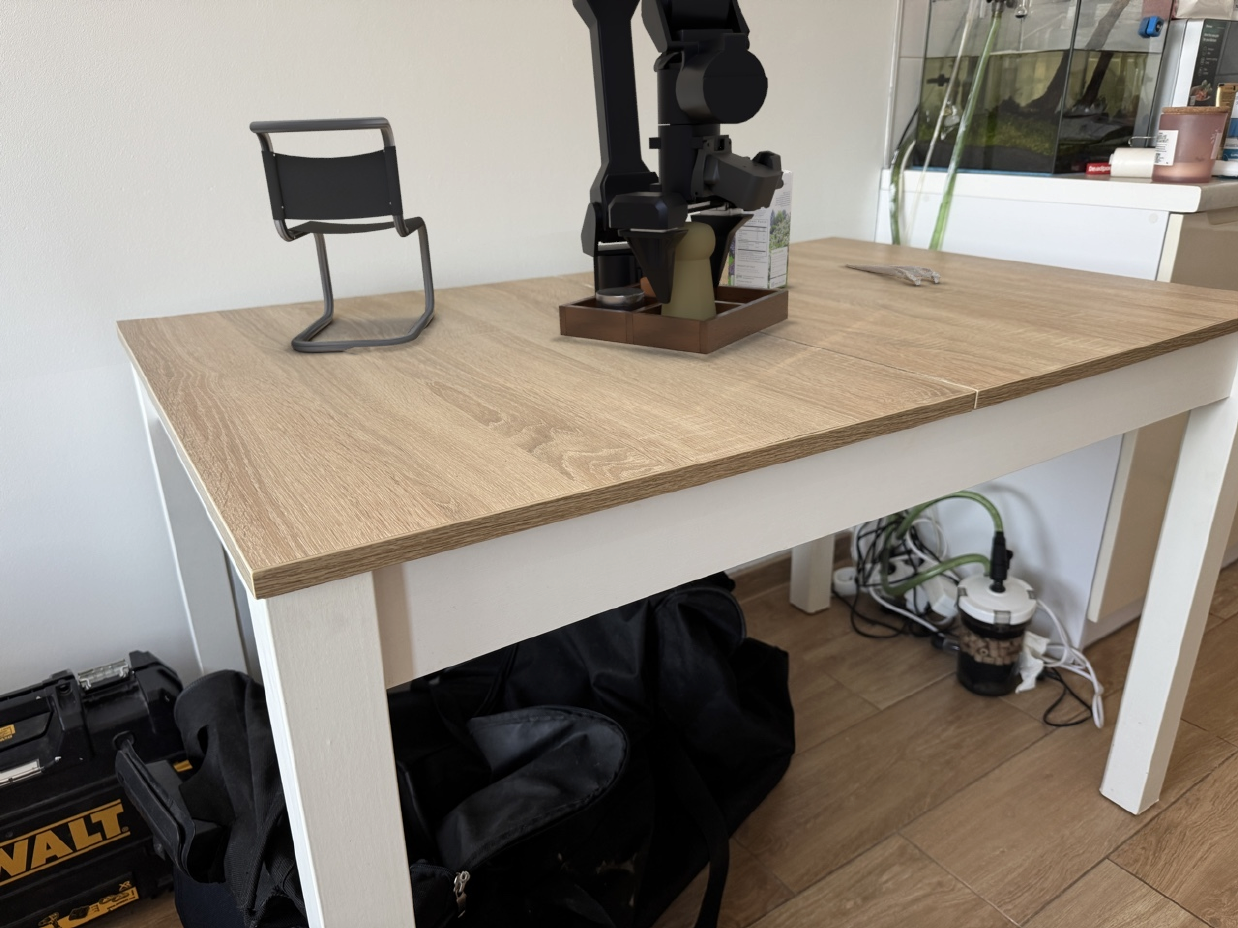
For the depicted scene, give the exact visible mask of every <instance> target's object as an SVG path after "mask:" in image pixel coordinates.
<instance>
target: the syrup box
mask: <svg viewBox="0 0 1238 928" xmlns="http://www.w3.org/2000/svg"><path fill="white" fill-rule="evenodd" d="M782 171H783V172H784V173H783V176H782V180H783V181H784V185H783V187H782V188H781V189H776V190H775V192H774V195H773V198H772V201H771V204H770V207H769V208H764V207H761V209H759V210H756V211H750V212H745V211H743V209H742V213H745V214H754V216H753V218H752V219H751V220H748V221H747V222H746V223H745V224H744V225H743V226H742V227H741V228H740V229H738V230H737V232H736V233H735V236H734V239H733V241H732V244H731V247H730V250H729V253H728V272H727V275H728V276H727V285H733V286H745V287H757V288H769V289H782V288H785V287H787V286H788V281H789V280H788V278H789V277H788V276H789V261H790V259H789V258H790V257H789V256H790V241H791V239H790V238H791V219H792V216H791V215H792V199H793V179H794V177H793V176H794V172H793V171H792V170H787V169H782Z"/></svg>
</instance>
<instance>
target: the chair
mask: <svg viewBox="0 0 1238 928" xmlns="http://www.w3.org/2000/svg"><path fill="white" fill-rule="evenodd" d="M248 129H249V131H251V133H253V134H255V136H256V137H257V139H258V141H259V144H260V149H261V150H260V153H261V158H262V164H263V169H264V175H265V179H266V180H265V181H266V185H267V186H266V187H267V192H268V199H269V204H270V210H271V216H272V220H273V224H274V227H275V230H276V232H277V234H278V236H279V237H280V238H281V239H282V240H283V241H284V242H286V243H290V242H291V243H292V242H293V241H296V240H298V239H300V238H302V237H305V236H307V235H309V234H310V235H311V234H313V239H314V242H315V248H316V255H317V261H318V268H319V275H320V281H321V287H322V295H323V303H324V304H323V305H324V306H323V307H324V308H323V314H322V315H321V316H320V317H319V318H317V319H316V320H315V321H314V322H312V323H311V324H310V325H309V326H308V327H306V328H305V329H303V330H302V331H300V333H298V334H297V335H295V336H294V337H293V338H292V340H291V342H290V345H291V347H292V348H293V350H295V351H297V352H303V353H326V352H329V353H330V352H344V351H347V350H351V349H355V348H374V347H375V348H376V347H389V346H390V347H391V346H397V345H403V344H406V343H410V342H412V341H414V340H416V339H418V337H419V335H420V334H421V332H422V331H423V330H424V329H425V328H427V326H428V324H429V323H430V322H431V320H432V319H433V317H434V315H435V307H436V306H435V305H436V304H435V303H436V302H435V300H436V299H435V288H434V280H433V270H432V262H431V261H432V260H431V250H430V242H429V234H428V228H427V225H426V222H425V220H424V219H423V218H422V216H414V217H409V218H405V217H404V207H403V198H402V191H401V181H400V171H399V164H398V155H397V147H396V143H395V137H394V136H395V135H394V132H393V127H392V126H391V123H390V121H389V119H387V118H386V117H384V116H365V117H337V118H334V117H333V118H312V119H311V118H310V119H309V118H307V119H283V120H256V121H251V122H250V123H249V126H248ZM361 130H362V131H363V130H364V131H365V130H380V134H381V137H382V142H383V149H380V150H375V151H371V152H367V153H362V154H354V155H346V156H336V157H335V156H333V157H311V156H310V157H309V156H300V155H289V154H285V153H280V152H275V151H274V147H273V143H272V139H271V136H270V134H279V133H281V134H283V133H284V134H285V133H307V132H308V133H309V132H311V133H312V132H332V131H333V132H334V131H336V132H337V131H361ZM390 216H391V217H392V220H391V221H385V222H371V223H370V222H369V223H339V222H328V221H342V220H360V219H370V218H371V219H373V218H380V217H390ZM286 220H293V221H306V222H303V223H300V224H297V225H295V226H292V227H288V225H287V223H286ZM326 221H327V222H326ZM389 229H390V230H391V229H395V230H396V231H395V232H396V233H397V234H398V236H399V237H400V238H408V237H409V236H410V235H411V234H413V233H414V232H417V236H418V243H419V252H420V260H421V269H422V270H421V271H422V278H423V290H424V300H425V301H424V302H425V303H424V304H425V306H424V312H423V313H422V314H421V316H420V317H419V318H418V319H417V321H416V322H415V323H414V325H413V326H412V327H411V328H410V329H409V331H408V332H407V333H406V334H404V335H399V336H395V337H388V338H371V339H368V338H367V339H348V340H347V339H346V340H345V339H344V340H322V341H321V340H320V341H309V340H310V339H311V338H313V337H314V336H315V335H316V334H318V333H319V332H320V331H321V330H323V329H324V328H325V327H326V326H328V325H329V324H330V323H331V322H332V320H333V318H334V312H335V301H334V300H335V299H334V292H333V285H332V279H331V278H332V277H331V272H330V266H329V259H328V253H327V245H326V240H325V235H351V234H362V233H363V234H364V233H372V232H378V231H379V232H380V231H384V230H385V231H386V230H389Z"/></svg>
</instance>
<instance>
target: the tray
mask: <svg viewBox="0 0 1238 928" xmlns="http://www.w3.org/2000/svg"><path fill="white" fill-rule="evenodd" d="M625 287H629V288H639V289H641V282H638V283H635V284H631V285H628V286H625ZM713 292H714V300H715V308H716V316H713V317H710V318H708V319H705V320H701V319H692V318H683V317H674V316H665V315H661V311H662V303H659V302H658V300H657V298H656V296H655V295H650V294H645V307H643V308H640V309H637V310H634V311H631V312H628V311H619V310H610V309H601V308H596V295H595V294H593V295H590V296H587V297H584V298H581V299H577V300H574V301H570V302H567V303H563V304H560V305H558V315H559V333H560V334H559V335H560V336H564V337H571V338H572V337H573V338H579V339H580V338H581V339H586V340H587V339H588V340H595V341H601V342H602V341H603V342H609V343H617V344H625V345H632V346H639V347H647V348H654V349H655V348H656V349H661V350H671V351H678V352H683V353H684V352H686V353H693V354H701V355H709V354H711V353H714V352H716V351H718V350H720V349H723V348H726V347H727V346H729V345H731V344H734V343H737V342H739V341H741V340H744V339H745V338H747V337H750V336H753V335H754V334H756V333H758V332H761V331H763V330H765V329H768V328H770V327H772V326H775V325H776V324H779V323H781V322H783V321H785V320H788V317H789V315H788V314H789V292H790V291H789V290H788V289H782V288H773V289H769V288H757V287H745V286H733V285H728V284H720V283H719V286H718V287H716V288H713Z"/></svg>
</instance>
